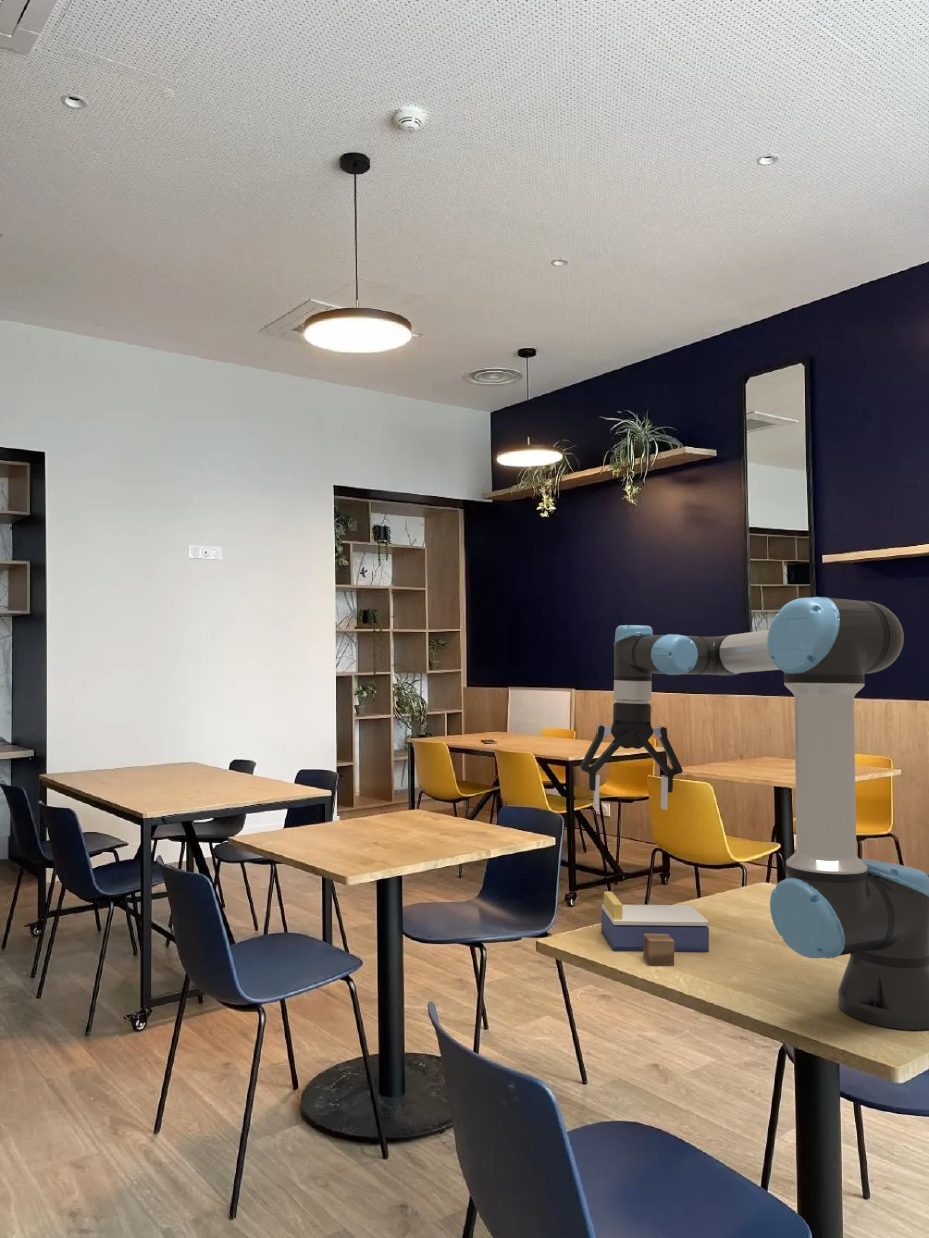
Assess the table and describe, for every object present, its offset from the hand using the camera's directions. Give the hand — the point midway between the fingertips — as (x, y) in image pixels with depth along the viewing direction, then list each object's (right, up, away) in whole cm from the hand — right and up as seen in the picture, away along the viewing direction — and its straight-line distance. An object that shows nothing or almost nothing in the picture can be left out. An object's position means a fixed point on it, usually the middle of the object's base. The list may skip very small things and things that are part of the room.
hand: (630, 808), depth 188 cm
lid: (+3, -20, -6) cm, 21 cm away
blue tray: (+3, -25, -7) cm, 26 cm away
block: (+2, -24, -19) cm, 31 cm away
